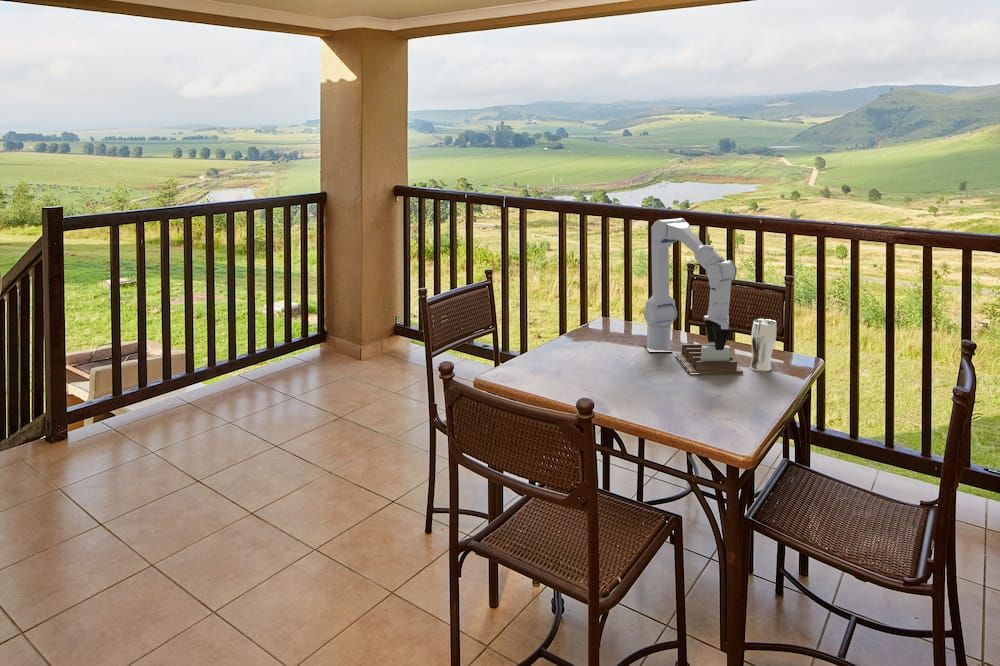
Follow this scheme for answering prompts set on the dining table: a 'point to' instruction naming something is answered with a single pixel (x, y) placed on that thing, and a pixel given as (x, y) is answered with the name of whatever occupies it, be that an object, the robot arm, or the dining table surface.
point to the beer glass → (762, 344)
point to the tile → (714, 353)
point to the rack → (694, 365)
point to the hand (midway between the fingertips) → (715, 345)
